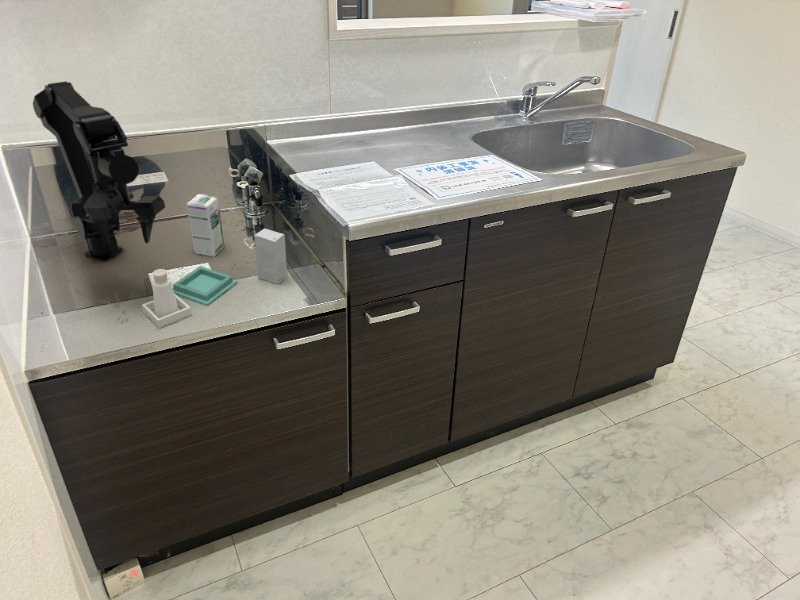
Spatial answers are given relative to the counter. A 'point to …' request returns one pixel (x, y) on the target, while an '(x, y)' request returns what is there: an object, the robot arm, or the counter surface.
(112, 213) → the robot arm
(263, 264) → the skincare box
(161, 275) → the pepper shaker
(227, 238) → the counter surface
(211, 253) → the syrup box
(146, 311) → the white square tray
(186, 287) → the teal square tray
